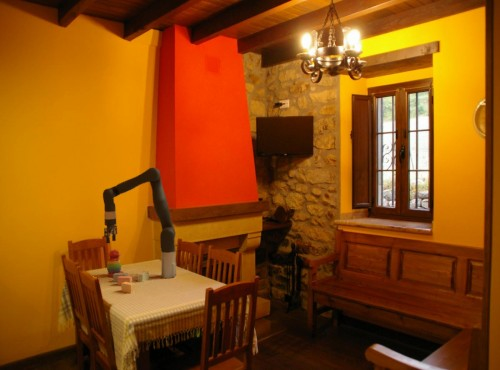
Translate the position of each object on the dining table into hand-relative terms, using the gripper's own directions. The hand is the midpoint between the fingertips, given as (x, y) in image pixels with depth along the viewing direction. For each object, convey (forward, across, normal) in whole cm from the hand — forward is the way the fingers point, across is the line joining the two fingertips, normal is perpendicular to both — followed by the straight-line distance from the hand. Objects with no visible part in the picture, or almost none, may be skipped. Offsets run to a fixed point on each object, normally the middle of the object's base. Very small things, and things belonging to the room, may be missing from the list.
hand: (111, 242), depth 271 cm
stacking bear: (+24, +6, +1) cm, 25 cm away
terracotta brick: (+25, -14, -15) cm, 32 cm away
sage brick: (+25, -3, -23) cm, 34 cm away
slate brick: (+25, -8, -9) cm, 27 cm away
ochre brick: (+25, -28, -23) cm, 44 cm away
